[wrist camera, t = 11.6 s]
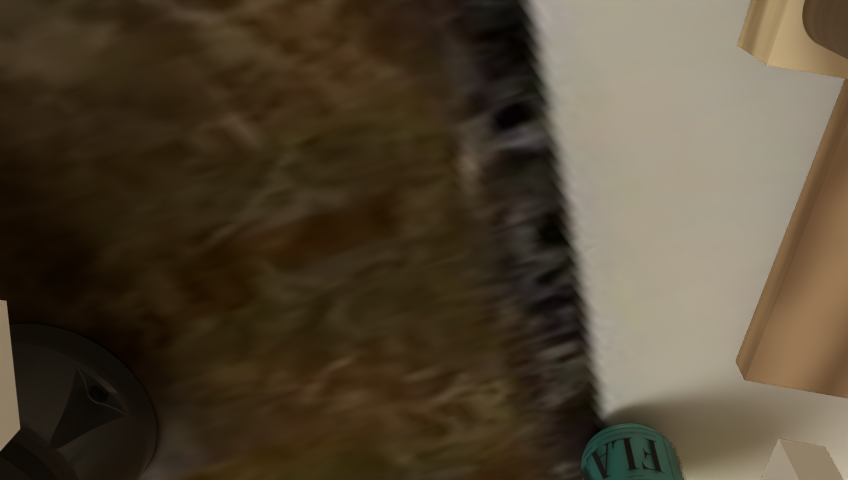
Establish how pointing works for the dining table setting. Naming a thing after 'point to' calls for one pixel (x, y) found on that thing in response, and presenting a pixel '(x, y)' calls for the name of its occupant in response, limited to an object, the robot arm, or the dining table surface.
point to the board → (808, 282)
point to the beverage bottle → (630, 455)
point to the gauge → (798, 35)
